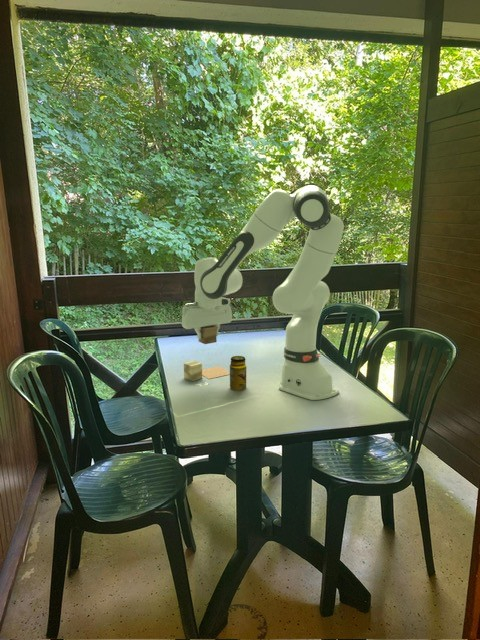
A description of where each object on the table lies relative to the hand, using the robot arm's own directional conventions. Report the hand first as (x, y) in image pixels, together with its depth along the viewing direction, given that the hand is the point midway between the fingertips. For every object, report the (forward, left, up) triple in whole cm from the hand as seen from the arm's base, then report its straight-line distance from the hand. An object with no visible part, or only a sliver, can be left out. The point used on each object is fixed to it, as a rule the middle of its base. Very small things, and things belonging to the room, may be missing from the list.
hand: (207, 337), depth 164 cm
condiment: (-14, -3, -17) cm, 23 cm away
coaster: (+5, -5, -17) cm, 19 cm away
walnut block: (0, 0, -2) cm, 2 cm away
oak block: (+4, +5, -17) cm, 18 cm away
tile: (-4, +5, -17) cm, 18 cm away
